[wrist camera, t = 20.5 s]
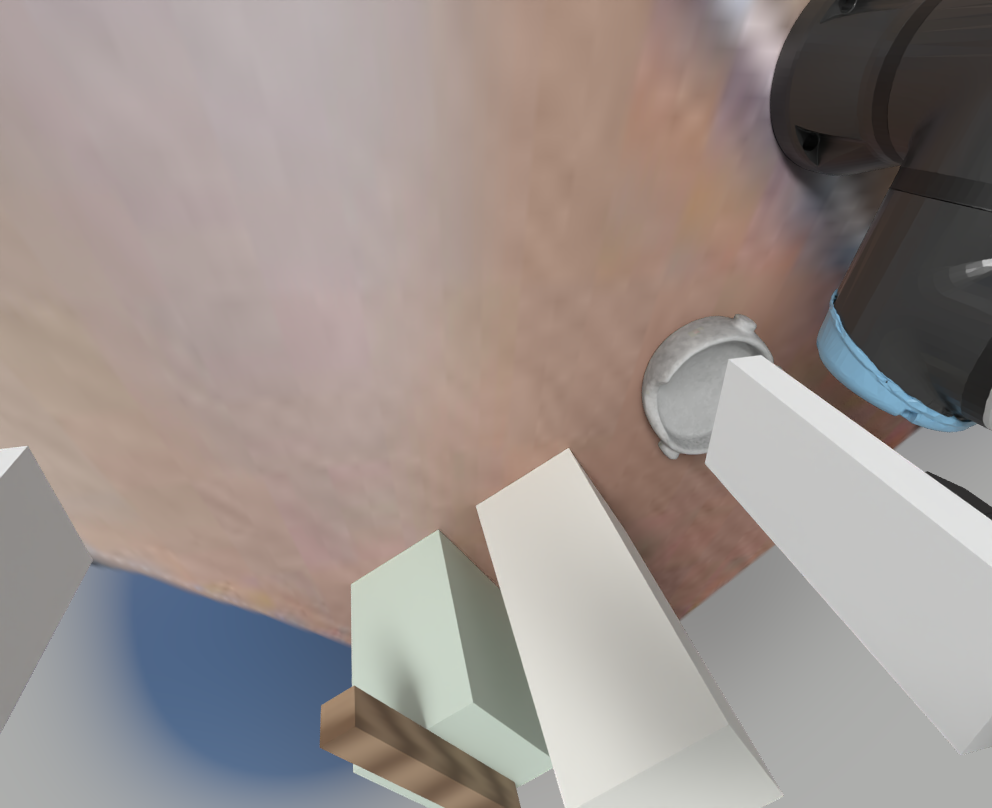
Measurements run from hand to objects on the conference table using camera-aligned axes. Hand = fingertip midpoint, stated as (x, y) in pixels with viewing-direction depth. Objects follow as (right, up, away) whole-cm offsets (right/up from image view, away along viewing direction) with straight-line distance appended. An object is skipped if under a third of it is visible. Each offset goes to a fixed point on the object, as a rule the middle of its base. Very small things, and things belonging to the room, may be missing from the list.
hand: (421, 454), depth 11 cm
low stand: (-6, -21, +55) cm, 60 cm away
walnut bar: (-4, -28, +36) cm, 46 cm away
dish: (+22, +4, +48) cm, 53 cm away
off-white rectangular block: (+8, -12, +54) cm, 56 cm away
